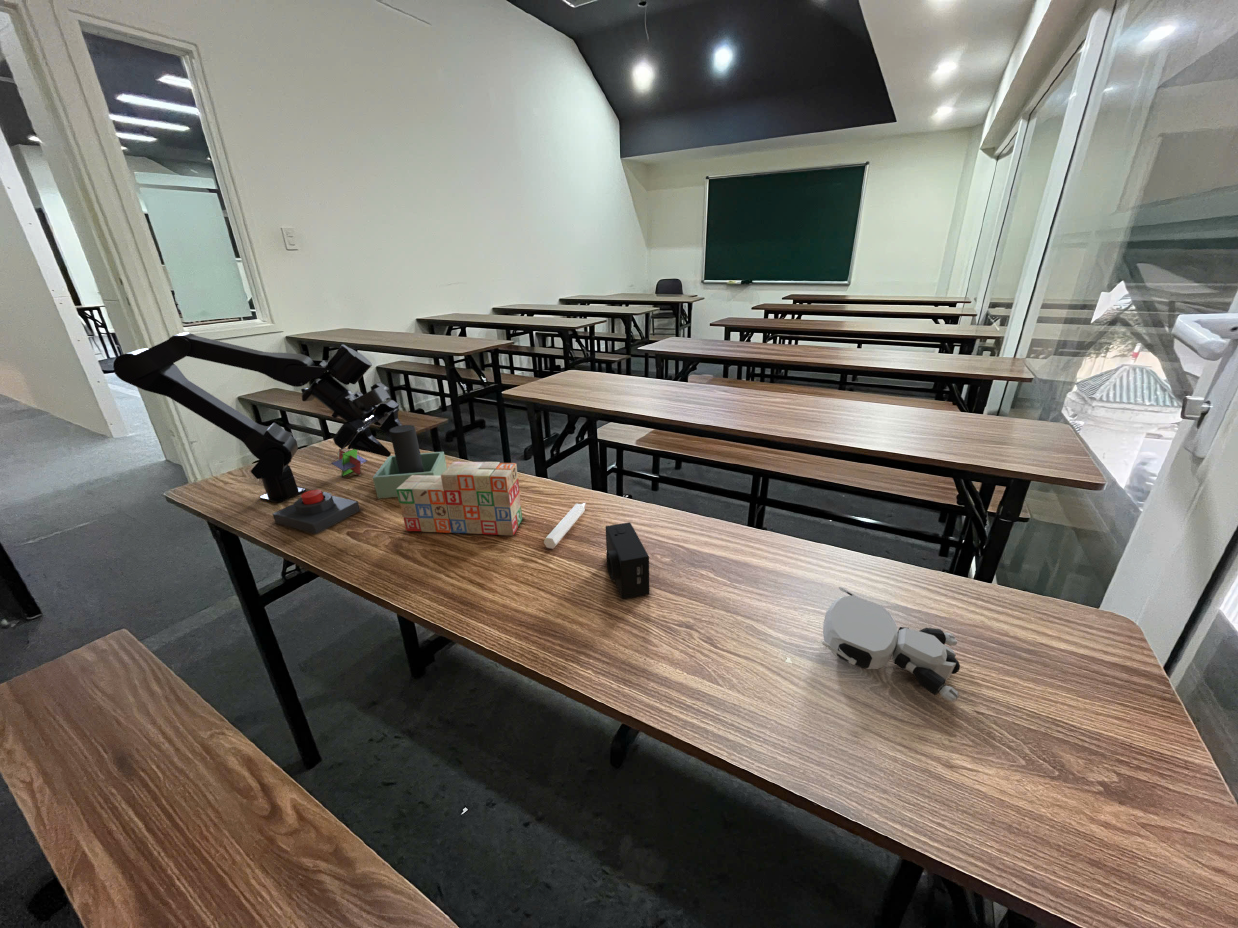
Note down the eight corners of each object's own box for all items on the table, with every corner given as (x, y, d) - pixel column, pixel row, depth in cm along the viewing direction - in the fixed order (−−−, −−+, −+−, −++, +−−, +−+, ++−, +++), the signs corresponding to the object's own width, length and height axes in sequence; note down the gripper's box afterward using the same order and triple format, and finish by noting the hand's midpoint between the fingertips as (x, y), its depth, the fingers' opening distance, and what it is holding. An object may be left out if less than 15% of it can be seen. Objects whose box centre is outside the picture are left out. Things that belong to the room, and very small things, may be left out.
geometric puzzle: (378, 463, 118) (357, 436, 117) (354, 474, 112) (332, 446, 111) (365, 476, 121) (345, 450, 121) (341, 487, 116) (320, 460, 115)
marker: (586, 510, 99) (551, 551, 85) (577, 504, 99) (542, 544, 85) (591, 501, 98) (557, 541, 84) (583, 495, 98) (547, 534, 84)
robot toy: (951, 651, 62) (829, 605, 69) (963, 625, 60) (836, 580, 67) (952, 724, 52) (810, 663, 59) (966, 696, 50) (818, 636, 57)
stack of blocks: (405, 532, 91) (391, 473, 86) (420, 516, 97) (408, 460, 92) (514, 535, 89) (506, 475, 84) (523, 518, 95) (516, 461, 90)
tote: (377, 498, 105) (372, 477, 103) (393, 475, 116) (389, 455, 114) (437, 493, 106) (433, 472, 104) (447, 470, 118) (443, 451, 116)
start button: (299, 503, 96) (296, 495, 95) (316, 495, 99) (313, 488, 98) (311, 506, 94) (309, 498, 94) (328, 498, 97) (325, 491, 97)
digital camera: (599, 562, 81) (598, 526, 78) (630, 556, 82) (630, 521, 79) (614, 601, 71) (613, 562, 69) (649, 594, 73) (649, 555, 70)
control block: (275, 523, 96) (269, 505, 94) (321, 501, 104) (316, 484, 103) (316, 534, 91) (310, 516, 90) (360, 510, 100) (355, 493, 98)
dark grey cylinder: (399, 487, 108) (386, 433, 103) (404, 478, 113) (392, 426, 108) (423, 485, 109) (412, 431, 104) (427, 475, 114) (416, 423, 109)
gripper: (332, 385, 93) (399, 438, 96) (382, 365, 110) (437, 411, 114) (305, 423, 96) (370, 473, 100) (357, 398, 114) (411, 442, 117)
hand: (400, 447), depth 108 cm, fingers open, 9 cm apart
